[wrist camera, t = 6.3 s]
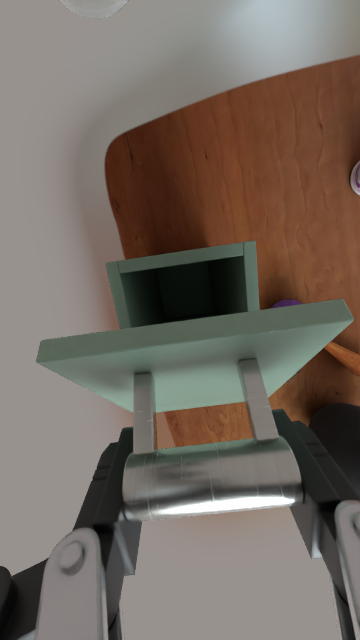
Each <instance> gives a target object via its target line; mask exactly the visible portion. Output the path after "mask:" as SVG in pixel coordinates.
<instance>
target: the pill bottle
mask: <svg viewBox="0 0 360 640" xmlns="http://www.w3.org/2000/svg"><path fill="white" fill-rule="evenodd" d="M350 182H351V187H352V189H353V190H354V191H355V192H356V193H357V194H359V195H360V161H359V162H358V163H357V164H356V165H355V167H354V168H353V170H352V174H351V179H350Z"/></svg>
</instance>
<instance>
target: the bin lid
mask: <svg viewBox="0 0 360 640" xmlns="http://www.w3.org/2000/svg"><path fill="white" fill-rule="evenodd" d="M353 320H354V318H353V316H352V314H351V312H350V311H349V309H348V307H347V305H346V303H345V302H344V300H343V299H337V300H329V301H322V302H315V303H308V304H300V305H293V306H286V307H279V308H271V309H264V310H257V311H250V312H242V313H235V314H228V315H221V316H213V317H206V318H199V319H192V320H184V321H177V322H170V323H163V324H155V325H148V326H141V327H134V328H126V329H119V330H112V331H105V332H97V333H91V334H83V335H76V336H68V337H61V338H54V339H47V340H42V341H41V342H40V346H39V351H38V355H37V359H36V361H37V363H38V364H40V365H42V366H44V367H46V368H48V369H50V370H51V371H53V372H55V373H57V374H59V375H61V376H63V377H65V378H67V379H69V380H71V381H73V382H74V383H76V384H78V385H80V386H82V387H84V388H86V389H88V390H90V391H92V392H94V393H96V394H98V395H99V396H101V397H103V398H105V399H107V400H109V401H111V402H113V403H115V404H117V405H119V406H120V407H122V408H124V409H126V410H128V411H130V412H132V413H133V420H134V421H133V452H132V453H130V454H129V456H128V458H127V460H126V464H125V468H124V474H123V486H122V498H123V508H124V513H125V517H126V519H127V521H129V522H139V521H149V520H159V519H168V518H178V517H188V516H198V515H208V514H218V513H228V512H237V511H247V510H257V509H267V508H276V507H286V506H296V505H301V504H302V503H303V502H304V489H303V483H302V478H301V474H300V470H299V467H298V464H297V461H296V459H295V456H294V454H293V452H292V449H291V448H290V446H289V444H288V442H287V441H286V439H285V438H284V437H282V436H280V435H278V432H277V428H276V425H275V421H274V418H273V414H272V410H271V407H270V403H269V400H268V398H269V397H270V396H271V395H272V394H273V393H274V392H275V391H276V390H277V389H279V388H280V387H281V386H282V385H283V384H284V383H285V382H286V381H287V380H288V379H290V378H291V377H292V376H293V375H294V374H295V373H296V372H297V371H298V370H300V369H301V368H302V367H303V366H304V365H305V364H306V363H307V362H308V361H309V360H311V359H312V358H313V357H314V356H315V355H316V354H317V353H318V352H319V351H321V350H322V349H323V348H324V347H325V346H326V345H327V344H328V343H329V342H330V341H332V340H333V339H334V338H335V337H336V336H337V335H338V334H339V333H340V332H341V331H343V330H344V329H345V328H346V327H347V326H348V325H349V324H350V323H351V322H353ZM237 402H245V405H246V409H247V414H248V418H249V423H250V427H251V431H252V436H253V438H252V439H244V440H235V441H226V442H218V443H209V444H200V445H191V446H183V447H174V448H165V449H157V429H156V428H157V426H156V412H163V411H171V410H180V409H188V408H196V407H204V406H213V405H221V404H229V403H237Z"/></svg>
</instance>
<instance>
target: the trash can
mask: <svg viewBox="0 0 360 640" xmlns="http://www.w3.org/2000/svg"><path fill="white" fill-rule="evenodd" d="M106 268H107V273H108V277H109V282H110V286H111V291H112V295H113V300H114V304H115V309H116V313H117V318H118V322H119V327H120V329H126V328H134V327H141V326H148V325H155V324H163V323H170V322H177V321H184V320H192V319H199V318H206V317H213V316H221V315H228V314H235V313H242V312H250V311H257V310H259V294H258V276H257V258H256V241H255V240H254V241H247V242H241V243H234V244H227V245H221V246H214V247H207V248H201V249H194V250H188V251H181V252H174V253H168V254H161V255H154V256H148V257H141V258H135V259H128V260H122V261H115V262H108V263H106Z"/></svg>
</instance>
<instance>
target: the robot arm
mask: <svg viewBox="0 0 360 640" xmlns="http://www.w3.org/2000/svg"><path fill="white" fill-rule="evenodd" d="M272 414H273V418H274V421H275V425H276V428H277V432H278V435H280V436H282V437H284V438H285V439H286V441H287V442H288V444H289V446H290V448H291V449H292V452H293V454H294V456H295V459H296V461H297V464H298V467H299V470H300V474H301V478H302V483H303V489H304V502H303V503H302V504H301V505H296V506H289V507H290V509H291V512H292V514H293V517H294V519H295V521H296V524H297V526H298V528H299V531H300V533H301V535H302V538H303V540H304V542H305V545H306V547H307V549H308V552H309V554H310V557H311V559H317V558H323V559H324V562H325V564H326V566H327V568H328V570H329V573H330V586H331V592H332V597H333V603H334V610H335V616H336V622H337V628H338V634H339V639H340V640H360V495H359V494H358V492H357V491H356V490H355V488H354V487H353V486H352V484H351V483H350V481H349V480H348V479H347V477H346V476H345V475H344V473H343V472H342V470H341V469H340V468H339V466H338V465H337V464H336V462H335V461H334V459H333V458H332V457H331V455H329V454H328V451H327V450H326V448H325V447H324V446H323V444H321V442H320V440H319V439H318V438H317V436H316V435H315V433H314V432H313V431H312V430H311V429H310V428H308V427H307V426H306V425H304V424H303V423H302V422H300V421H295V422H291V420H290V419H289V417H288V416H287V414H286V413H285V411H284V410H283V409H277V410H272ZM132 452H133V427H126V428H123V429H122V432H121V435H120V438H119V441H118V442H115V443H110V444H109V446H108V447H107V448H106V450H105V451H104V452H103V453H102V455H101V457H100V460H99V463H98V465H97V470H96V471H95V474H94V476H93V481H91V484H90V486H89V489H88V492H87V494H86V497H85V500H84V502H83V505H82V507H81V510H80V513H79V515H78V518H77V521H76V523H75V526H74V528H73V530H72V532H70V533H69V534H68V535H66V536H65V537H64V538H63V539H62V540H61V541H60V542H59V543H58V544H57V545H56V547H55V548H54V549H53V551H52V553H51V554H50V556H49V558H47V559H46V560H44V561H42V562H40V563H38V564H36V565H34V566H32V567H30V568H28V569H26V570H24V571H22V572H20V573H17V574H15V575H13V576H11V574H10V572H9V571H8V569H7V568H5V567H2V566H0V640H125V634H124V622H123V612H122V602H121V597H120V596H121V589H122V584H123V578H124V576H127V575H134V574H135V569H136V561H137V554H138V547H139V539H140V532H141V525H142V521H139V522H129V521H127V519H126V517H125V513H124V508H123V498H122V486H123V474H124V468H125V464H126V460H127V458H128V456H129V454H130V453H132Z"/></svg>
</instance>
